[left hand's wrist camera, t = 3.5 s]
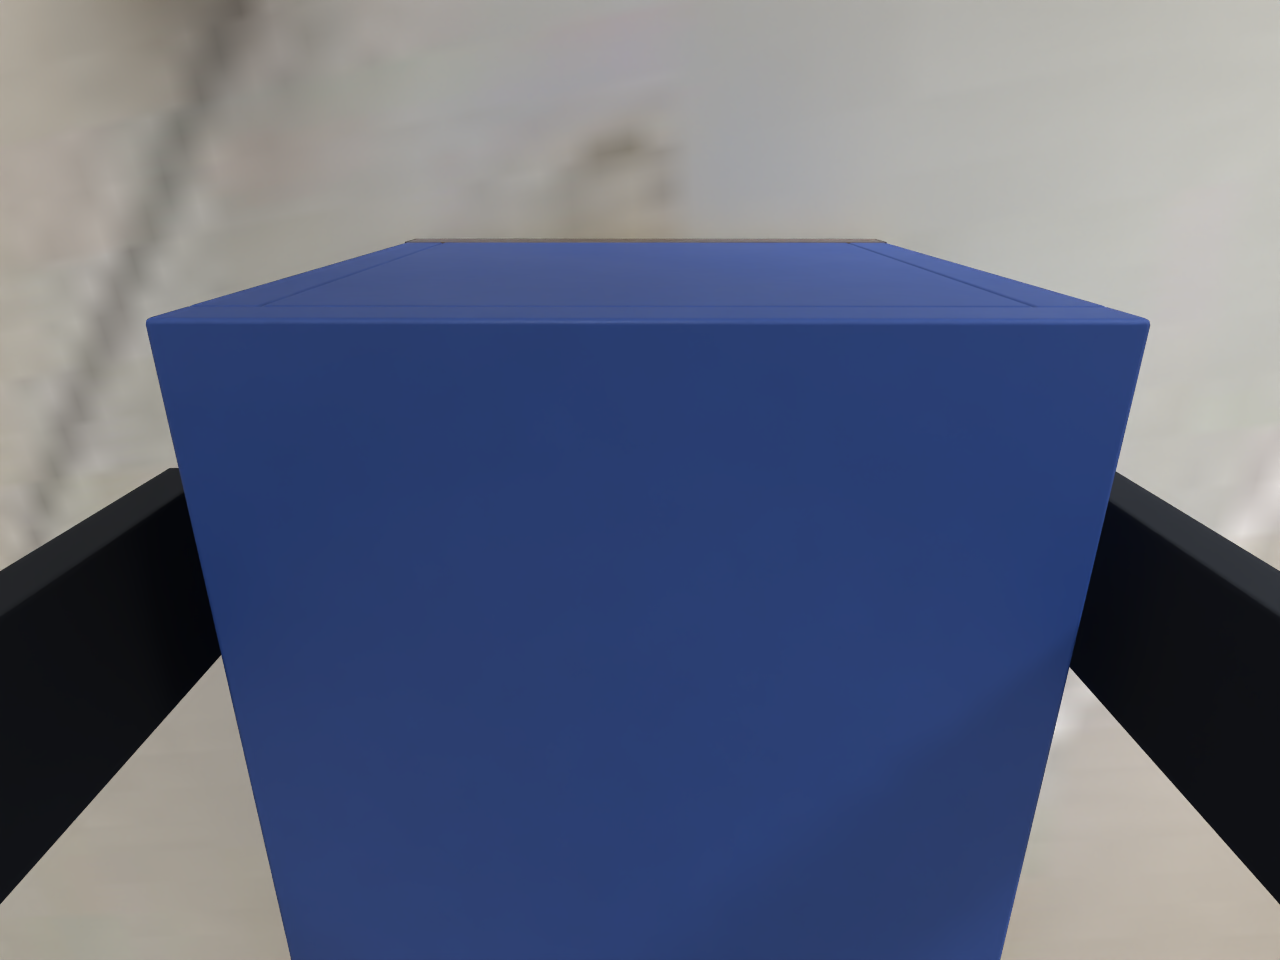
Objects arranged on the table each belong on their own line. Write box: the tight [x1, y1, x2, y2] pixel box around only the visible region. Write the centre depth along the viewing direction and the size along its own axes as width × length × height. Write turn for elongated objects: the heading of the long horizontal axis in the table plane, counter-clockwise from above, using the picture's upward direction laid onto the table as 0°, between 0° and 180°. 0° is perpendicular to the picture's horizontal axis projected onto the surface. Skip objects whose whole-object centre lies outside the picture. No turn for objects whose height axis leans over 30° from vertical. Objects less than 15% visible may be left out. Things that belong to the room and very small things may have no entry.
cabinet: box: [146, 239, 1150, 960], centre depth 17 cm, size 22×11×11 cm, turn 0°
